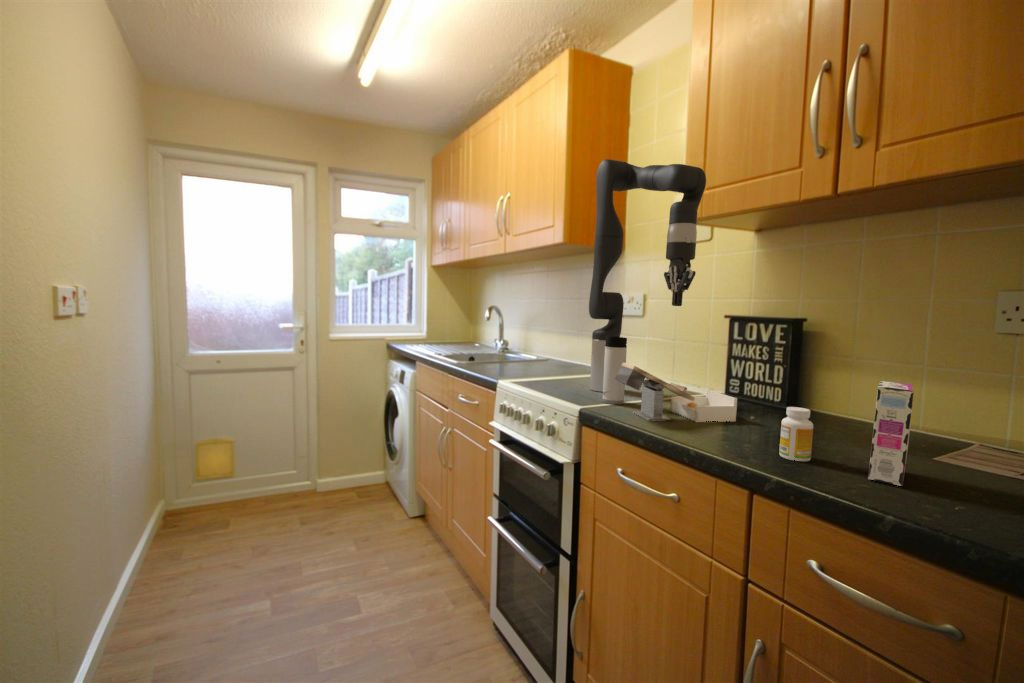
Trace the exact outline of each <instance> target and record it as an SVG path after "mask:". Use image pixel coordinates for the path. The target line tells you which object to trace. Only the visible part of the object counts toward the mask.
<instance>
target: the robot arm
mask: <svg viewBox="0 0 1024 683" xmlns="http://www.w3.org/2000/svg"><path fill="white" fill-rule="evenodd" d="M705 172H706V171H704V170H703V168H701V167H697V166H693V165H689V164H688V165H687V164H685V163H684V164H682V163H671V164H667V165H666V164H664V165H663V164H652V165H651V164H650V165H646V166H644V167H642V166H636V165H634V164H631V163H628V162H626V161H622V160H615V159H609V158H607V159H603V160H602V161H601V162H600V163H599V165H598V167H597V171H596V182H595V184H596V220H595V221H596V222H595V230H594V232H595V233H594V247H593V248H594V249H593V266H592V268H593V269H592V277H591V283H590V284H591V286H590V293H589V300H588V313H589V317H590V319H591V318H592V320H593V319H594V320H608V322H607V324H605V325H604V326H602V327H600V328H598V329H594V330H593V331H592V334H591V335H592V336H591V354H590V355H591V356H590V357H591V358H590V360H591V361H590V377H589V378H590V379H589V390H591V391H595V392H602V393H603V379H604V359H605V344H606V343H605V342H606V337H612V336H619V337H621V334H622V325H623V316H624V315H623V314H624V307H625V306H624V297H623V295H622V294H621V293H620V292H613V291H612V292H611V291H604V285H605V283H606V280H607V277H608V275H609V274H610V272H611V271H612V269H613V268H614V267H615V265H616V264H617V262H618V261H619V259H620V258H621V256H622V253H623V248H624V227H623V225H622V223H621V220H620V217H618V216H619V215H618V214H617V211H616V210H615V206H614V192H625V191H626V192H627V191H631V190H636V189H637V190H638V189H643V190H646V191H656V192H674V193H681V194H683V196H682V199H681V201H676V202H674V203H672V204H670V205H671V206H670V209H669V217H668V218H669V220H668V229H667V234H666V246H665V247H666V248H665V249H666V250H665V259H666V260H668V261H669V265H668V271H665V272H663V277H664V279H665V280H664V281H665V283H666V286H667V289H668V290H669V291H671V293H672V297H671V306H673V307H682V305H683V293H685V291H688V290H689V288H690V286H691V284H692V282H693V280H694V278H695V276H696V273H697V272H696V271H695V270H692V265H691V261H693V260H694V259H695V258H696V251H697V237H698V236H697V235H698V234H697V233H698V232H697V231H698V230H697V222H698V221H697V219H698V209H699V206H700V203H701V200H702V197H703V195H704V192H705V189H706V186H707V176H706V175H707V174H706V173H705Z"/></svg>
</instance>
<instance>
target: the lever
mask: <svg viewBox="0 0 1024 683" xmlns="http://www.w3.org/2000/svg"><path fill="white" fill-rule="evenodd" d="M645 379H647V380H650V381H653V382H656V383H659V384H662V385H663V389H665V390H667V391H668V392H671V393H673V394H674V395H676V396H677V397H684V398H686V399H689V400H692V401H694V399H695V397H696V396H693V395H691V394H689V393H687V390H688V388H687V387H686V386H683V385H680V384H677V383H674V382H670V383H669V382H666V381H665V380H662V379H660V378H658V377H657V376H656V375H653V374H651V373H649V372H648V371H646V370H643V369H641V368H640V367H638V366H636V365H633V364H630V363H627V362H626V363H624V362H623V363H622V365H621V367H620V369H619V371H618V373H617V375H616V377H615V380H617V381H619V382H621V383H623V384H625V386H627V387H629V388H632V389H634V390H638V391H640V389H641V388H642V385H643V381H644V380H645Z"/></svg>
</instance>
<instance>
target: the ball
mask: <svg viewBox="0 0 1024 683" xmlns="http://www.w3.org/2000/svg"><path fill="white" fill-rule="evenodd" d="M687 406H688V407H691V408H693V409H695V406H698V405H697V404H696V403H693V402H691V403H688V404H687Z"/></svg>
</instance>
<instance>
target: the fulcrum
mask: <svg viewBox="0 0 1024 683" xmlns="http://www.w3.org/2000/svg"><path fill="white" fill-rule="evenodd" d="M642 385H643V386H642ZM642 385H641V399H640V400H641V403H640V410H632V414H634V413H635V414H634V415H636V414H637V415H636V416H638V415H639V416H641V417H643V418H645V419H647V420H655V421H654V422H666V421H665V420H672V419H671V418H670V417H668V416H666V415H664V414H663V409H664V393H665V392H664V388H663V385H662V384H659V383H656V382H653V381H650V380H648V379H646V378H645V379H644V381H643V383H642ZM639 416H638V417H639ZM641 417H640V418H641ZM643 418H642V419H643ZM645 419H644V420H645ZM647 420H646V421H647Z"/></svg>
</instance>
